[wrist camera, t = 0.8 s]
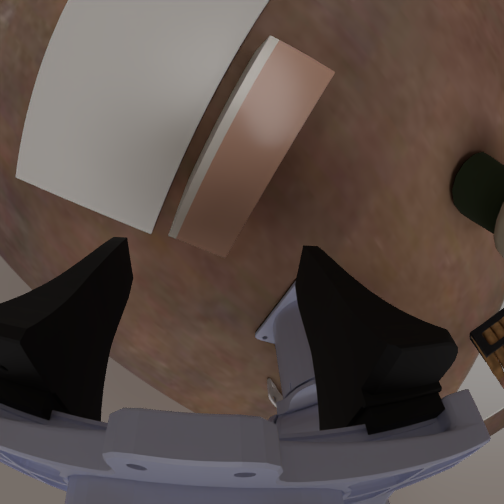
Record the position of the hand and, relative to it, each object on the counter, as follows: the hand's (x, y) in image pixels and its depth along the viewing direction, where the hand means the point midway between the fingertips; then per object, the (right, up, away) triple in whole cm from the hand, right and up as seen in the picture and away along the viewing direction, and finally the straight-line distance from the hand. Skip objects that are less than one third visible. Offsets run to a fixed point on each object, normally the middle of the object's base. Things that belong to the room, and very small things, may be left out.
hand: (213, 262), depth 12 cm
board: (-7, +12, +4) cm, 15 cm away
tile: (+1, +9, +7) cm, 11 cm away
